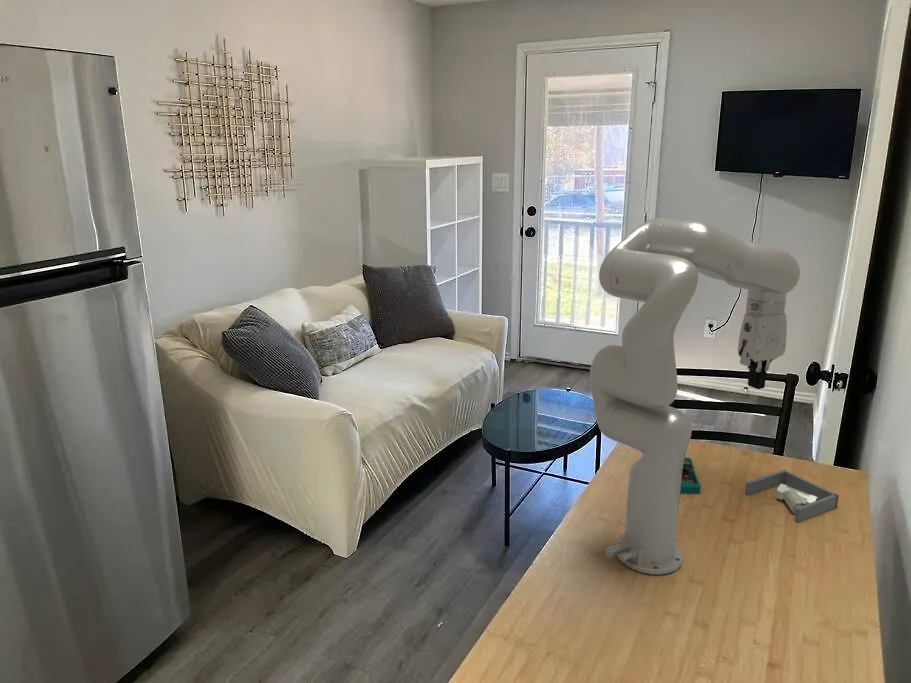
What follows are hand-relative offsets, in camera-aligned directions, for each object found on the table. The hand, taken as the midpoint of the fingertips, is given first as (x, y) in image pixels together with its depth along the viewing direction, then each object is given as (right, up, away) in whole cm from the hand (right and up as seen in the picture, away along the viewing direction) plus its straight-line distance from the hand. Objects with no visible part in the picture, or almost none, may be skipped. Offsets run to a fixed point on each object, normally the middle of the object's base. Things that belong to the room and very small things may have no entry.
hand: (755, 386), depth 147 cm
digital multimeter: (-13, -24, +13) cm, 30 cm away
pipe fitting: (+8, -27, -1) cm, 28 cm away
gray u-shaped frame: (+8, -26, +1) cm, 27 cm away
